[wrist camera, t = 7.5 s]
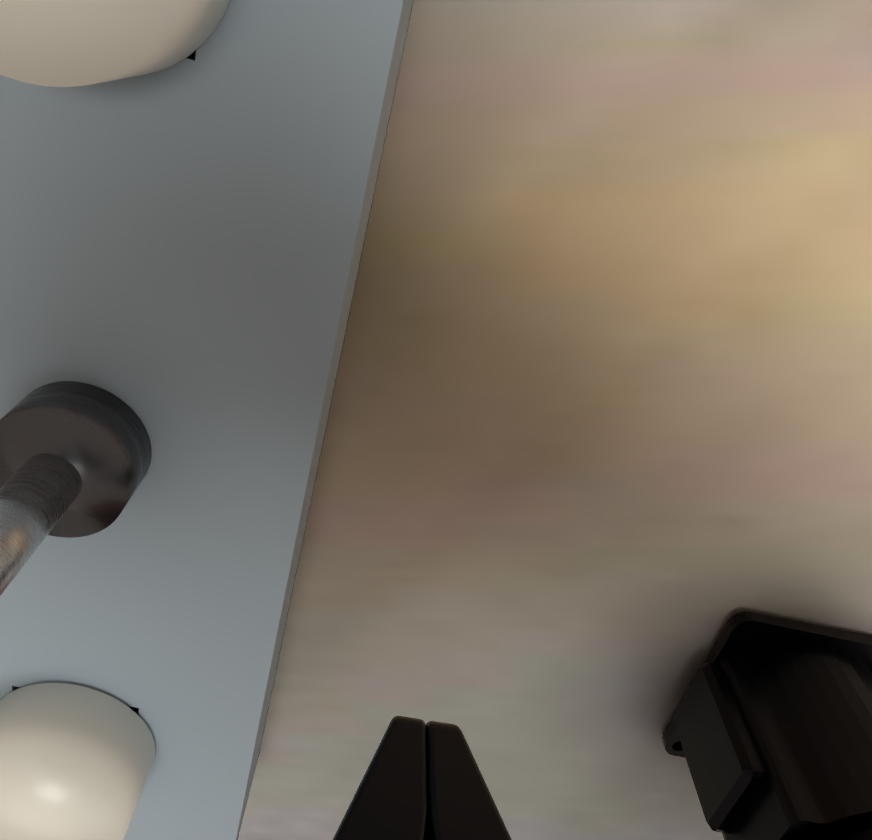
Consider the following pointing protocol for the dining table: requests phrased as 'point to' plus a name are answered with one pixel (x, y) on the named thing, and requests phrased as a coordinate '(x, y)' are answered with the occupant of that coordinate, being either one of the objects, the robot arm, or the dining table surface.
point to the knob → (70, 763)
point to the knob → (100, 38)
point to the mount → (191, 363)
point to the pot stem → (65, 467)
